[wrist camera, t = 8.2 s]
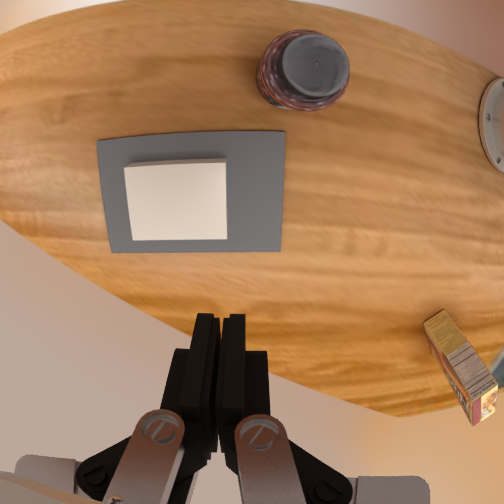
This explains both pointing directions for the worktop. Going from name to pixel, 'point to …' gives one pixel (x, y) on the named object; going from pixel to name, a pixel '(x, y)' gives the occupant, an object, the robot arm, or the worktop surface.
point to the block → (178, 199)
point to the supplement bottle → (303, 71)
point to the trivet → (238, 187)
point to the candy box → (462, 367)
